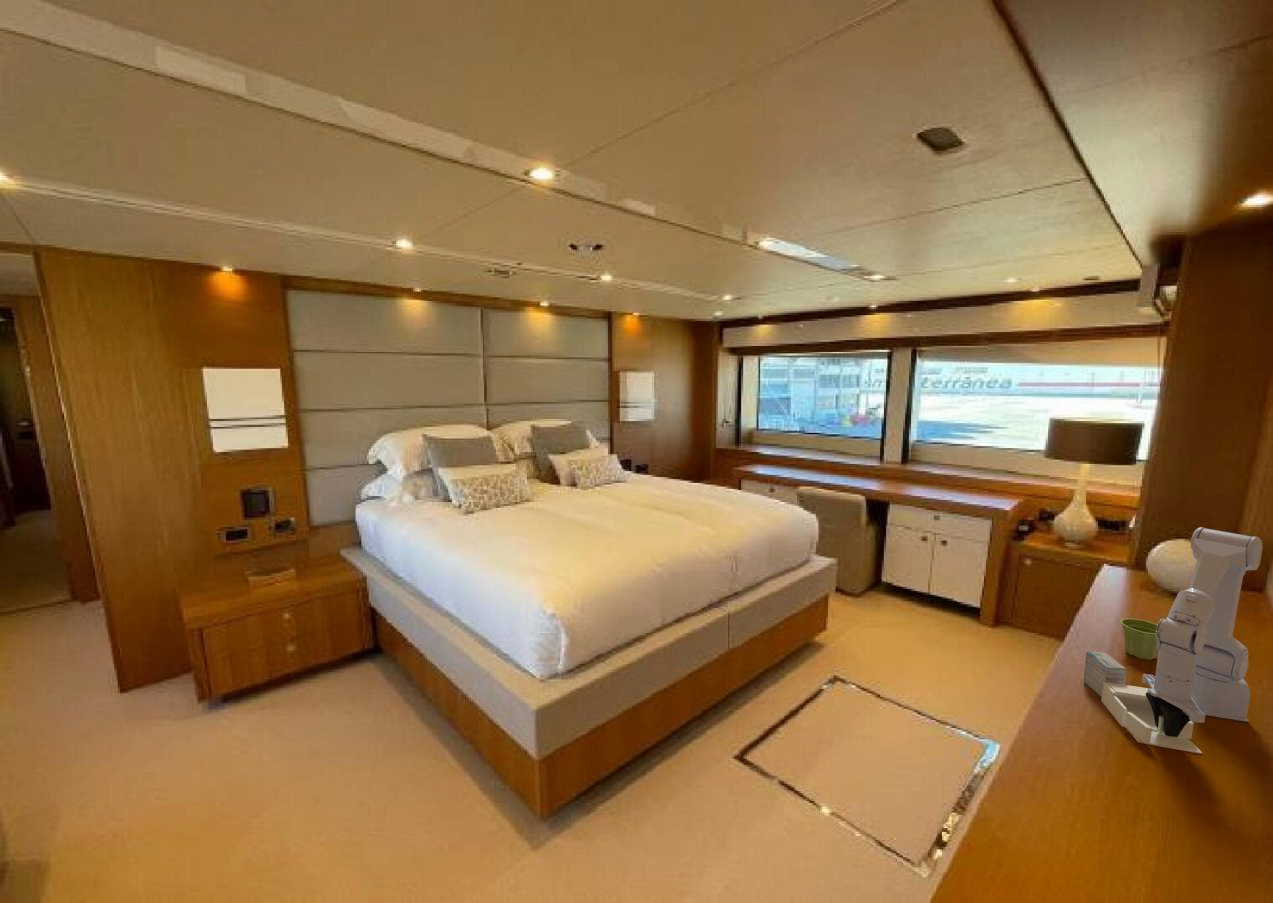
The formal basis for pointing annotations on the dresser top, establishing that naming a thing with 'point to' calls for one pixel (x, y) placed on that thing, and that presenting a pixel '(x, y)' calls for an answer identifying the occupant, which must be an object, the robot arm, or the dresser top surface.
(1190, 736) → the carton flap
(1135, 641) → the plant pot
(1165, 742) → the carton
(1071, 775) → the dresser top surface
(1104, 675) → the medicine box
